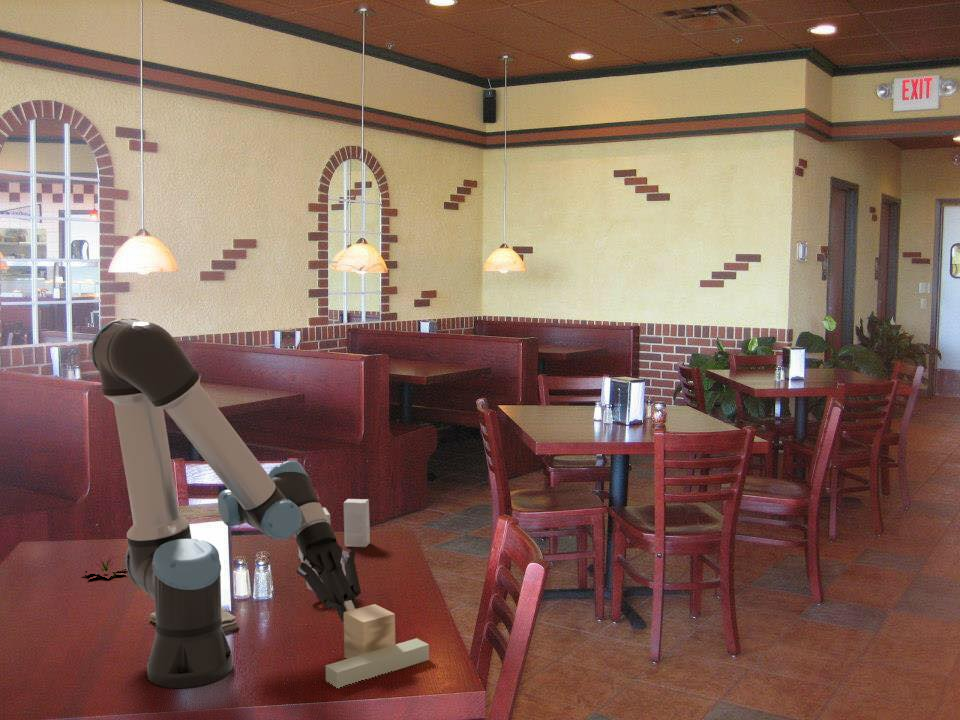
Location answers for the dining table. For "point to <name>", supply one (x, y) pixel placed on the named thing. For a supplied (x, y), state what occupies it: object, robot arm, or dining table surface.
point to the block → (368, 630)
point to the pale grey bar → (377, 662)
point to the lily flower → (106, 564)
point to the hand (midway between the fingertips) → (358, 633)
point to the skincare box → (356, 523)
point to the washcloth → (227, 620)
